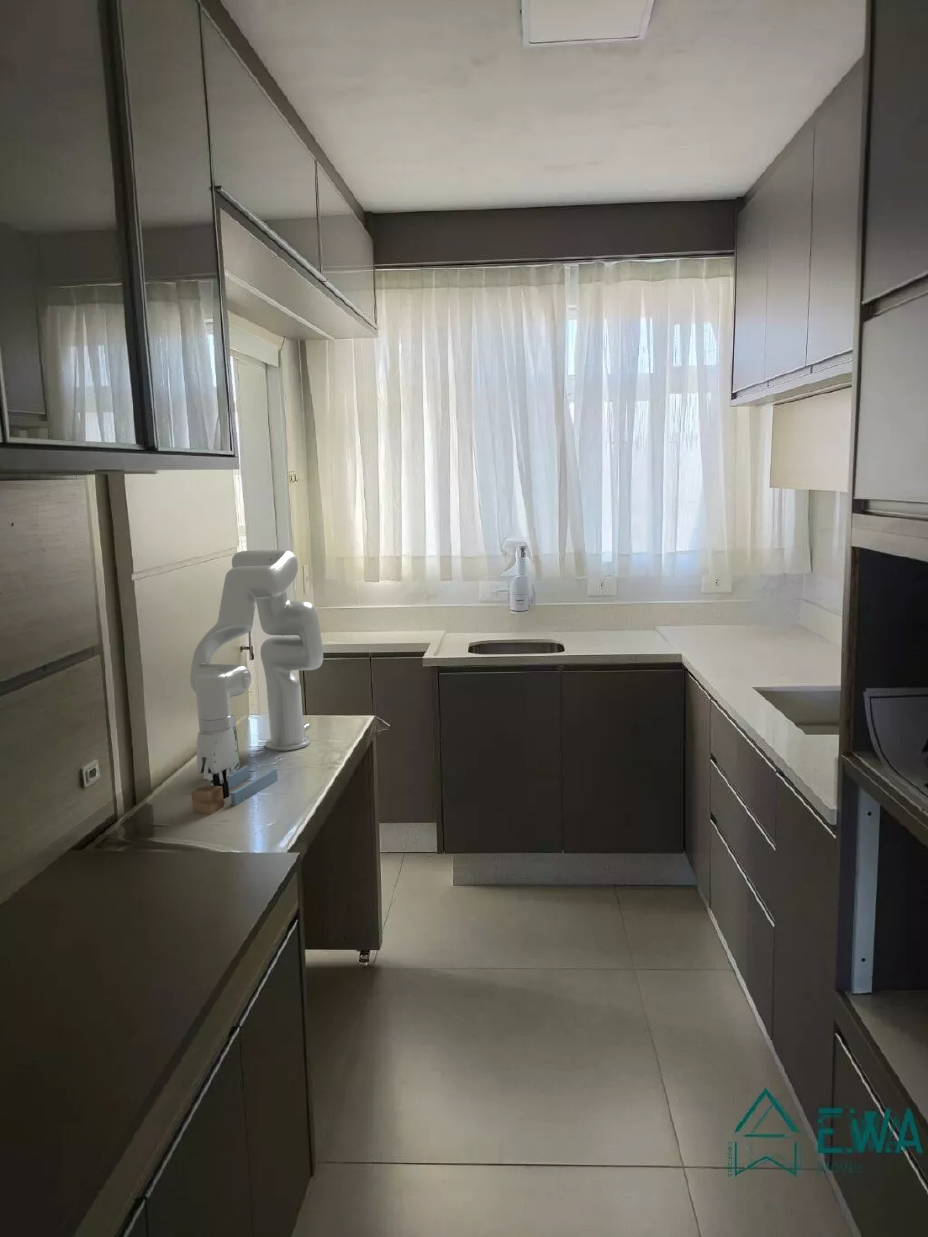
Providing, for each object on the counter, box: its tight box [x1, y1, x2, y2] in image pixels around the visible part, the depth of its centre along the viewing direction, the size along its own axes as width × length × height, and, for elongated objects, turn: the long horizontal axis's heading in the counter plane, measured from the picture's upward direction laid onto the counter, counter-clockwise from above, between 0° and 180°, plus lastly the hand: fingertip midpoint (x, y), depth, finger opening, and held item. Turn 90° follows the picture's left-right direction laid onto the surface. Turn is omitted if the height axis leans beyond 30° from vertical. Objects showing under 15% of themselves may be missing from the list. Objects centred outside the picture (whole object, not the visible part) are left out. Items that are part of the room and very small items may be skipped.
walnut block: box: [191, 784, 225, 815], centre depth 210 cm, size 5×5×5 cm
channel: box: [210, 765, 278, 806], centre depth 222 cm, size 18×9×3 cm, turn 159°
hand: (221, 797), depth 215 cm, fingers closed
